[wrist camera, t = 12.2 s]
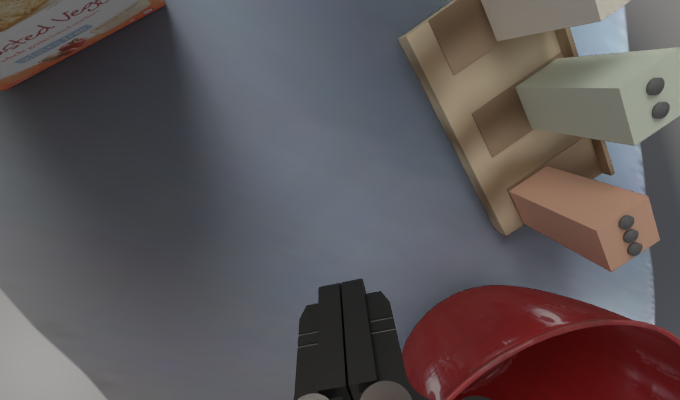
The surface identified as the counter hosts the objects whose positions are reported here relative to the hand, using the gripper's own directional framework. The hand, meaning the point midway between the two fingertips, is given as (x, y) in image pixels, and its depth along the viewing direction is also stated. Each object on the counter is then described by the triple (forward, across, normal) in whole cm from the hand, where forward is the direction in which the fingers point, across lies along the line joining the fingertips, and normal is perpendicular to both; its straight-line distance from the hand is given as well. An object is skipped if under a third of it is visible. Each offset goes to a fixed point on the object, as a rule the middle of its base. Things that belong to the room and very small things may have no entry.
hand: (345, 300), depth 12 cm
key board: (+25, -17, +4) cm, 30 cm away
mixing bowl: (+19, -10, +30) cm, 38 cm away
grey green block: (+23, -20, +3) cm, 31 cm away
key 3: (+21, -19, +13) cm, 31 cm away
